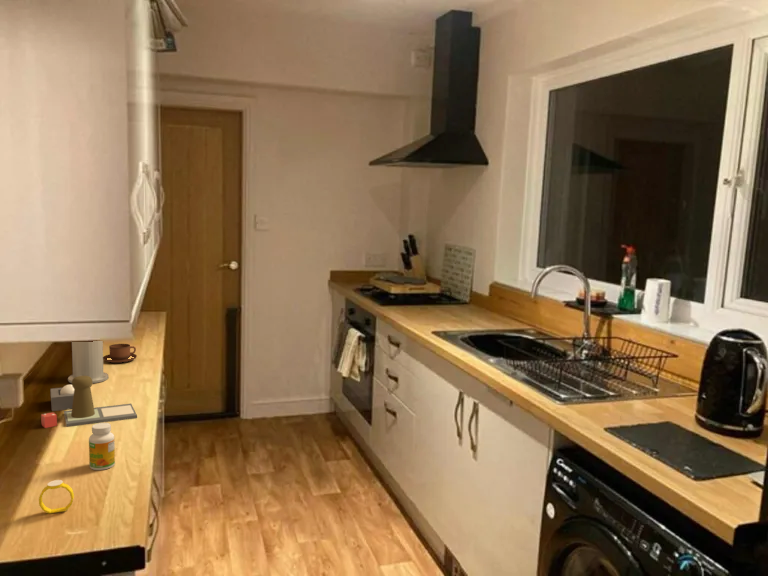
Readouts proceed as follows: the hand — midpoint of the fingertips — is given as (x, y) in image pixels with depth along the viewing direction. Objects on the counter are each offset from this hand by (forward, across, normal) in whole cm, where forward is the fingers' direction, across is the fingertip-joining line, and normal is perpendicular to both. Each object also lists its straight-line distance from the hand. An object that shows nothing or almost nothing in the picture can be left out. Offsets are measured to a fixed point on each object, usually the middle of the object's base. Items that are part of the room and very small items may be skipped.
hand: (103, 307), depth 196 cm
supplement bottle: (+28, +56, -6) cm, 63 cm away
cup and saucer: (+29, -48, +10) cm, 57 cm away
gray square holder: (+28, +3, -10) cm, 30 cm away
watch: (+28, +76, -16) cm, 83 cm away
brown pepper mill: (+28, +18, -7) cm, 34 cm away
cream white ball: (+28, +3, -10) cm, 30 cm away
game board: (+28, +18, -3) cm, 34 cm away
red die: (+28, +21, -16) cm, 39 cm away
